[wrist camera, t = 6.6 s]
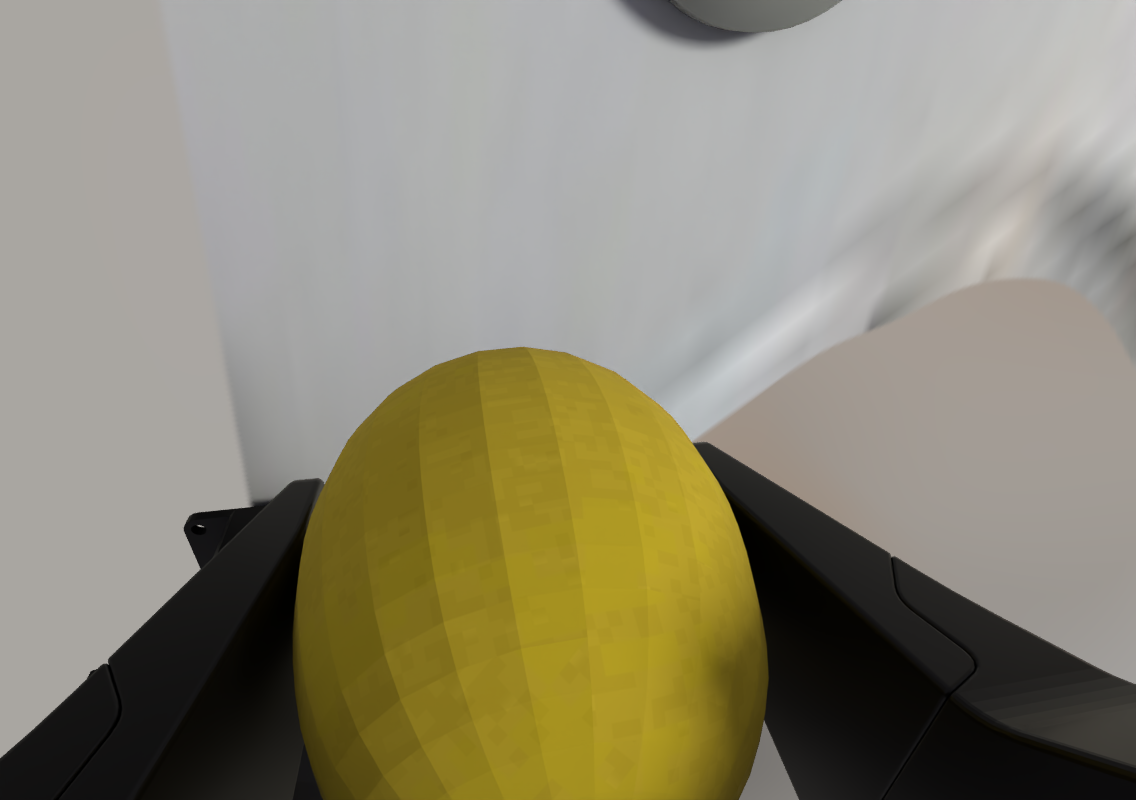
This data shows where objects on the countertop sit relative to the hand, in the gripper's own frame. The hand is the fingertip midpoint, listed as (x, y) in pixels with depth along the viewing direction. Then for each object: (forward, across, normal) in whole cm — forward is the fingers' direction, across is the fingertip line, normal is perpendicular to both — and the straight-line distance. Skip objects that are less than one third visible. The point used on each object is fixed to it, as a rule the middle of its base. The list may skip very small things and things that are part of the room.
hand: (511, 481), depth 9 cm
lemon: (+2, 0, 0) cm, 2 cm away
